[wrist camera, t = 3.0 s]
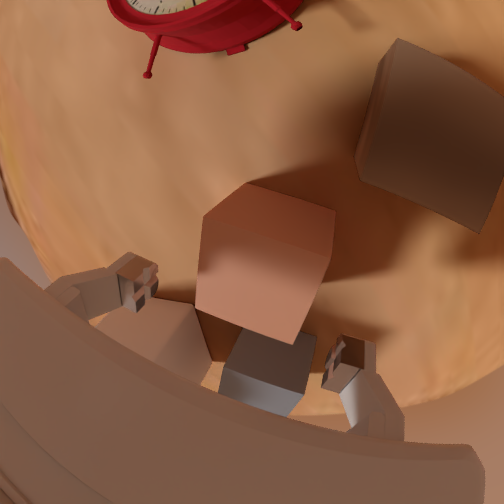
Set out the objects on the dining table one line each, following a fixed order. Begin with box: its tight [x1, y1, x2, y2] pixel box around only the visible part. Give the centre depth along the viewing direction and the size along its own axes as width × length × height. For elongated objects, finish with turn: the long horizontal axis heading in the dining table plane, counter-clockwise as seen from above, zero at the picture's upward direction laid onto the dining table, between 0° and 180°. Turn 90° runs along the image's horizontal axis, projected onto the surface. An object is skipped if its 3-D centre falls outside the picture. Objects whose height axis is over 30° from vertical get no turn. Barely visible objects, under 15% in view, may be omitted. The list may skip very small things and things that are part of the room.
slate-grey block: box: [218, 327, 317, 417], centre depth 18 cm, size 5×5×5 cm
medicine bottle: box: [95, 297, 212, 385], centre depth 18 cm, size 7×7×12 cm
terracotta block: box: [195, 183, 336, 345], centre depth 13 cm, size 5×5×5 cm
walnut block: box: [354, 38, 504, 234], centre depth 8 cm, size 5×5×5 cm
